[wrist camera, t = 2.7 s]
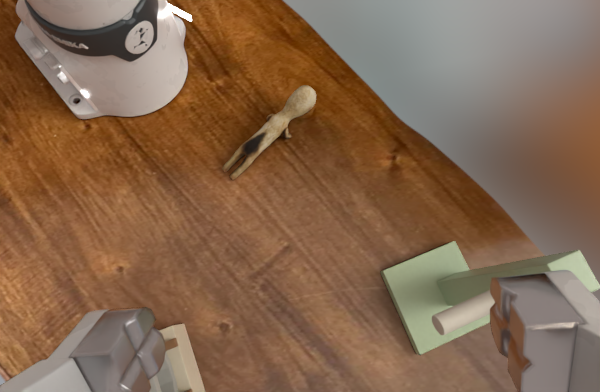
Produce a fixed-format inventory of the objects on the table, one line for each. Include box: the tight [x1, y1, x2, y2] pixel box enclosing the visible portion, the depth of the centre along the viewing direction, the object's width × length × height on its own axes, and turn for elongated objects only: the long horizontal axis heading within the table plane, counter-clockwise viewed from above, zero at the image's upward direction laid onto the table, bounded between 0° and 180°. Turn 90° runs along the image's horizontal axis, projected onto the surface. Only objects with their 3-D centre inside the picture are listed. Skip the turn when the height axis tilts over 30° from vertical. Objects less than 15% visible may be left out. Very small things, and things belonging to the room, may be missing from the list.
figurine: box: [222, 85, 316, 180], centre depth 49 cm, size 4×5×15 cm
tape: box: [149, 353, 178, 392], centre depth 33 cm, size 4×7×7 cm, turn 22°
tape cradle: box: [160, 324, 205, 392], centre depth 39 cm, size 6×8×7 cm
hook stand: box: [380, 241, 600, 355], centre depth 37 cm, size 12×10×20 cm
